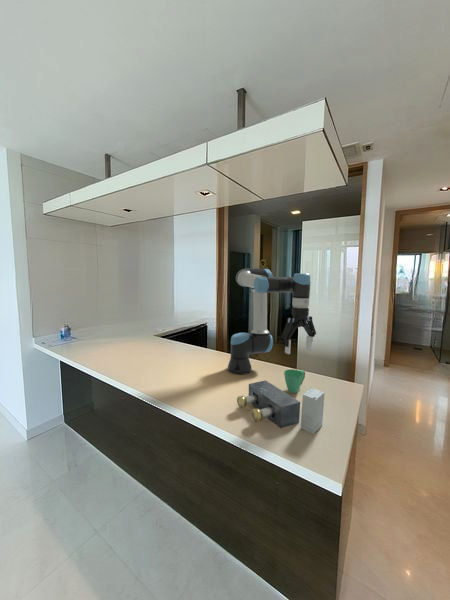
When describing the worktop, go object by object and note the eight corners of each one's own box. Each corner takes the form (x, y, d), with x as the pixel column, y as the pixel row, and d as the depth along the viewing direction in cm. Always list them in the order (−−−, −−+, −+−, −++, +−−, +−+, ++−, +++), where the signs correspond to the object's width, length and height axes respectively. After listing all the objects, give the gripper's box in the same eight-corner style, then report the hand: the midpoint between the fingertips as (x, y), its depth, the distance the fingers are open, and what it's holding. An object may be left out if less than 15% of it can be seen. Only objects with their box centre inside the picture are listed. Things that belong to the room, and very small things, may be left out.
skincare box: (309, 420, 111) (311, 387, 110) (323, 426, 107) (325, 391, 106) (300, 428, 105) (301, 393, 104) (314, 435, 101) (316, 398, 100)
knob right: (251, 418, 109) (251, 407, 108) (275, 411, 114) (275, 400, 114) (258, 424, 104) (258, 413, 104) (282, 417, 110) (283, 405, 109)
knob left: (236, 405, 119) (237, 394, 119) (259, 399, 125) (259, 389, 124) (242, 410, 115) (242, 399, 114) (265, 404, 120) (266, 393, 120)
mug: (295, 397, 132) (296, 378, 131) (279, 390, 139) (280, 372, 138) (310, 388, 142) (311, 371, 140) (295, 382, 149) (295, 365, 148)
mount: (248, 401, 126) (248, 384, 125) (265, 397, 131) (265, 380, 130) (280, 428, 105) (281, 407, 104) (299, 422, 110) (300, 401, 109)
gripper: (285, 309, 112) (283, 357, 114) (325, 306, 124) (322, 349, 126) (274, 307, 118) (272, 352, 120) (313, 304, 130) (310, 345, 133)
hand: (298, 351), depth 123 cm, fingers open, 13 cm apart
